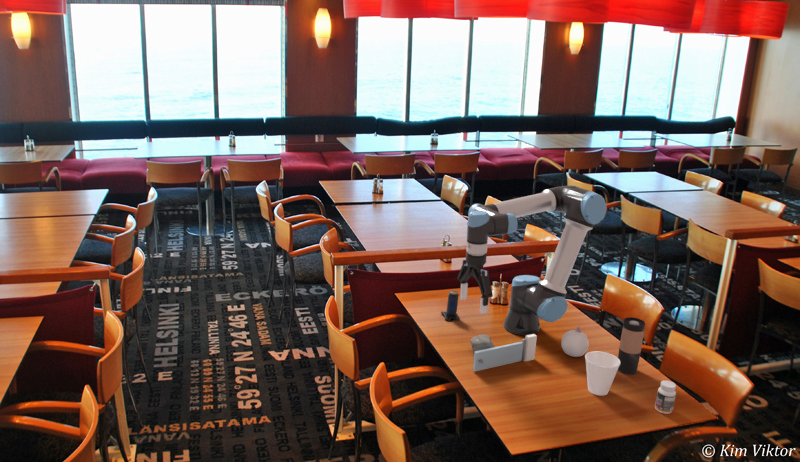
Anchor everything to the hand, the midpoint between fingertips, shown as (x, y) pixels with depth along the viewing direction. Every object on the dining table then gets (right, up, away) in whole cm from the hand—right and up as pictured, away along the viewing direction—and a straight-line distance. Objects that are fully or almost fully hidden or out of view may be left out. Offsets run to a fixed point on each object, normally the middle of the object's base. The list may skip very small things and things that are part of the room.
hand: (473, 305), depth 237 cm
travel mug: (+58, -24, 0) cm, 63 cm away
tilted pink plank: (+22, -21, +5) cm, 31 cm away
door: (+10, -22, -2) cm, 24 cm away
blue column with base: (-6, -10, +40) cm, 41 cm away
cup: (+42, -28, -15) cm, 53 cm away
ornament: (+41, -21, +10) cm, 47 cm away
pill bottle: (+61, -32, -25) cm, 74 cm away
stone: (+5, -19, +10) cm, 22 cm away
